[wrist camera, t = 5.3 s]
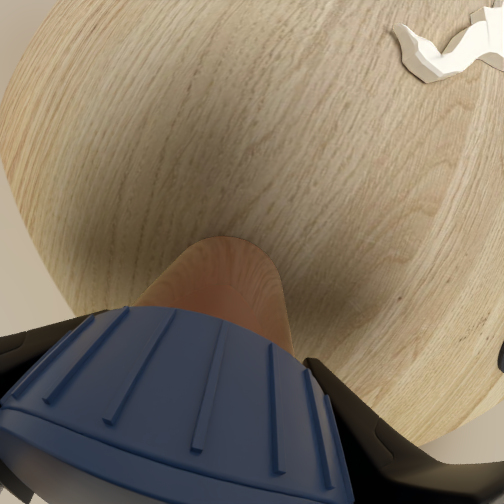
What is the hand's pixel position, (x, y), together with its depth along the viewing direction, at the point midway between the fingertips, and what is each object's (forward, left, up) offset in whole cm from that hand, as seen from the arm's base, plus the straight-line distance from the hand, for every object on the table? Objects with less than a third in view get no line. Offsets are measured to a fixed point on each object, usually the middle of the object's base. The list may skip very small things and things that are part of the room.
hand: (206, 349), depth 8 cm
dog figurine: (+12, -23, -5) cm, 26 cm away
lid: (0, 0, +3) cm, 3 cm away
